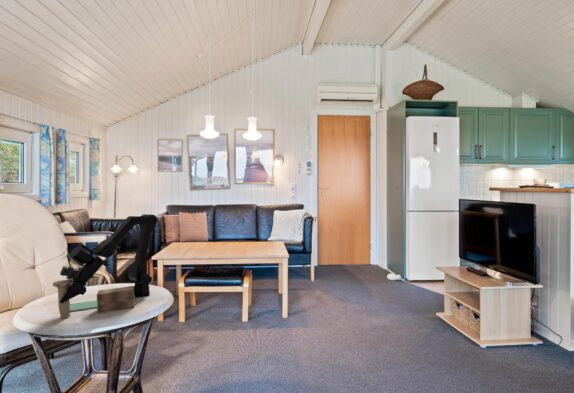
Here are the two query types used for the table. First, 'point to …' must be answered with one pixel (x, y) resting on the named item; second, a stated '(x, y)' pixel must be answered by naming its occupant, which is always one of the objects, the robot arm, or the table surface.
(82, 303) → the mat
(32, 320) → the table surface
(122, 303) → the cabinet
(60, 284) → the handle
